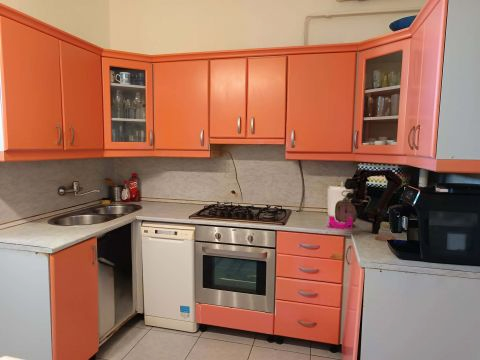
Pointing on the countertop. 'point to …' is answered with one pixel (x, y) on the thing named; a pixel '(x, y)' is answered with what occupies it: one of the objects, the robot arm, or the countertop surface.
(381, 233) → the tower top
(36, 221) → the countertop surface
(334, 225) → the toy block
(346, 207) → the tabletop clock
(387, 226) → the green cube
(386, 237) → the tower base
